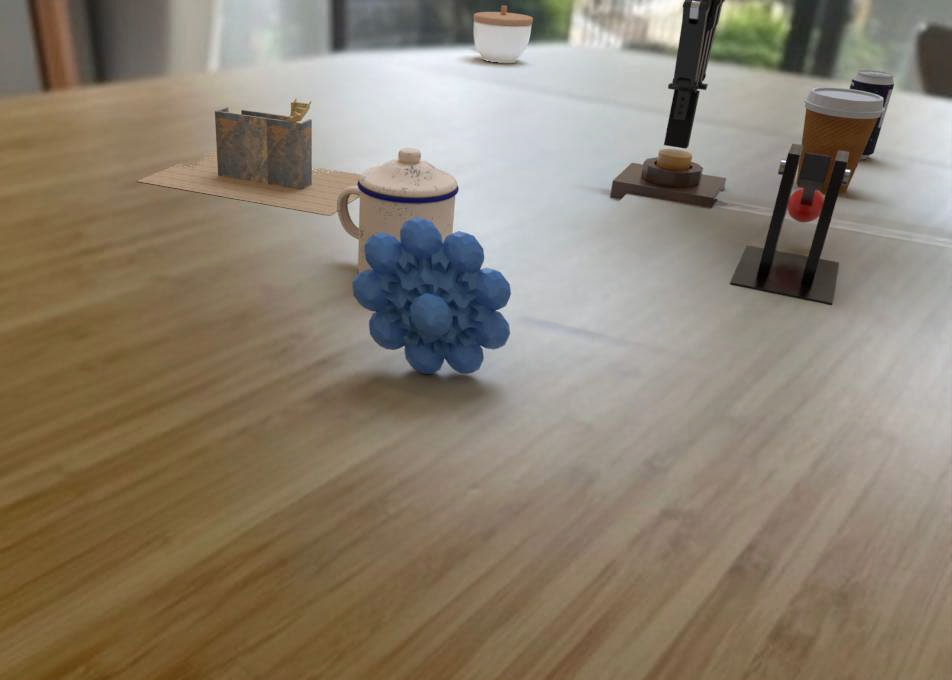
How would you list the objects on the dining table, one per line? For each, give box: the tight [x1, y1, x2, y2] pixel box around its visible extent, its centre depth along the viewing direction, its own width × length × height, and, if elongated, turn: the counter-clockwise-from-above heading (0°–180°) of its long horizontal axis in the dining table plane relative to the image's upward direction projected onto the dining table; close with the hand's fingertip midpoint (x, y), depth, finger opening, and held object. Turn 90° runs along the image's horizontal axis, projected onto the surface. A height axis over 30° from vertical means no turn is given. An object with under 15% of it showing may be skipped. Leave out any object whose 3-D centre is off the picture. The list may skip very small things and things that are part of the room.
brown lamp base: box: [609, 156, 727, 209], centre depth 111 cm, size 12×10×4 cm
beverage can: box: [849, 69, 895, 160], centre depth 134 cm, size 6×6×12 cm
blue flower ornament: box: [352, 217, 512, 375], centre depth 64 cm, size 12×7×12 cm, turn 86°
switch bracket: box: [729, 143, 851, 306], centre depth 85 cm, size 12×9×13 cm
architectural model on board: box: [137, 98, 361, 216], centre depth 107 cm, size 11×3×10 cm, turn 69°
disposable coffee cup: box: [795, 86, 885, 194], centre depth 117 cm, size 10×10×12 cm
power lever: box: [787, 153, 831, 223], centre depth 88 cm, size 14×4×4 cm, turn 155°
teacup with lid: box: [336, 147, 460, 273], centre depth 83 cm, size 12×9×12 cm
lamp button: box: [656, 148, 693, 170], centre depth 110 cm, size 4×4×2 cm
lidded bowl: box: [472, 5, 534, 64], centre depth 194 cm, size 13×13×11 cm
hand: (676, 145), depth 109 cm, fingers closed
